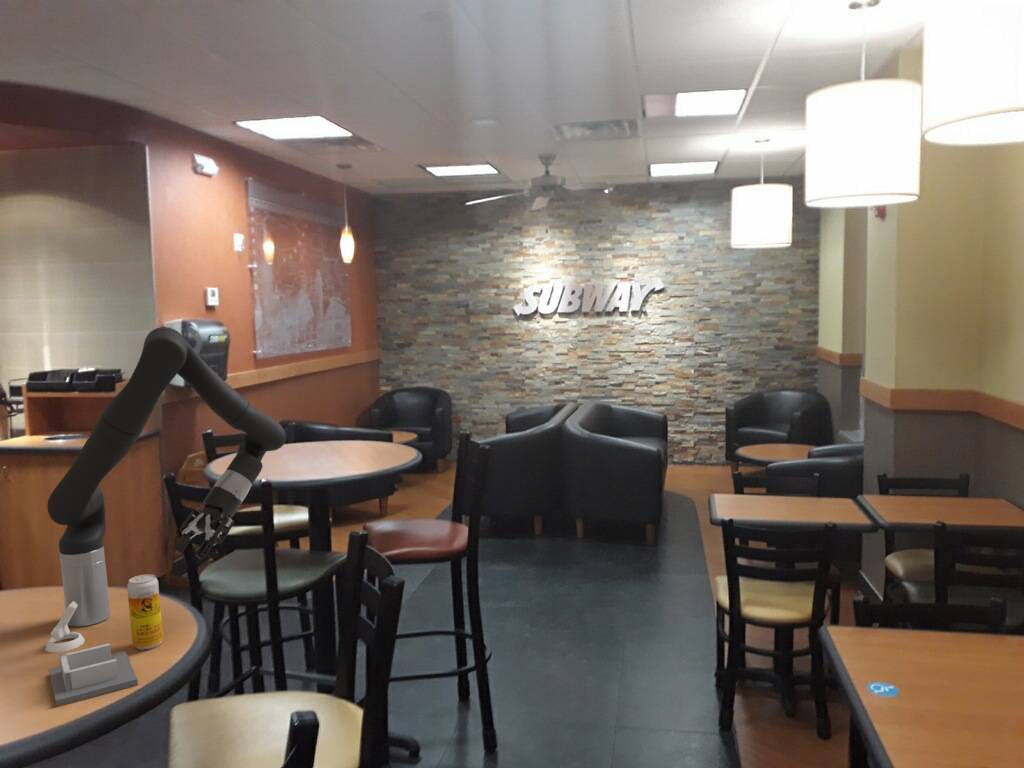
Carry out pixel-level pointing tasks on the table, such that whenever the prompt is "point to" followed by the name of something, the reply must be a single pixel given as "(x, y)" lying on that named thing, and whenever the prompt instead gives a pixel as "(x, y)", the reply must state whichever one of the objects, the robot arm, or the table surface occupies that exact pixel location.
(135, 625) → the beer can
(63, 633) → the hook
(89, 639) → the table surface
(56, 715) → the table surface
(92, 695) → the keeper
